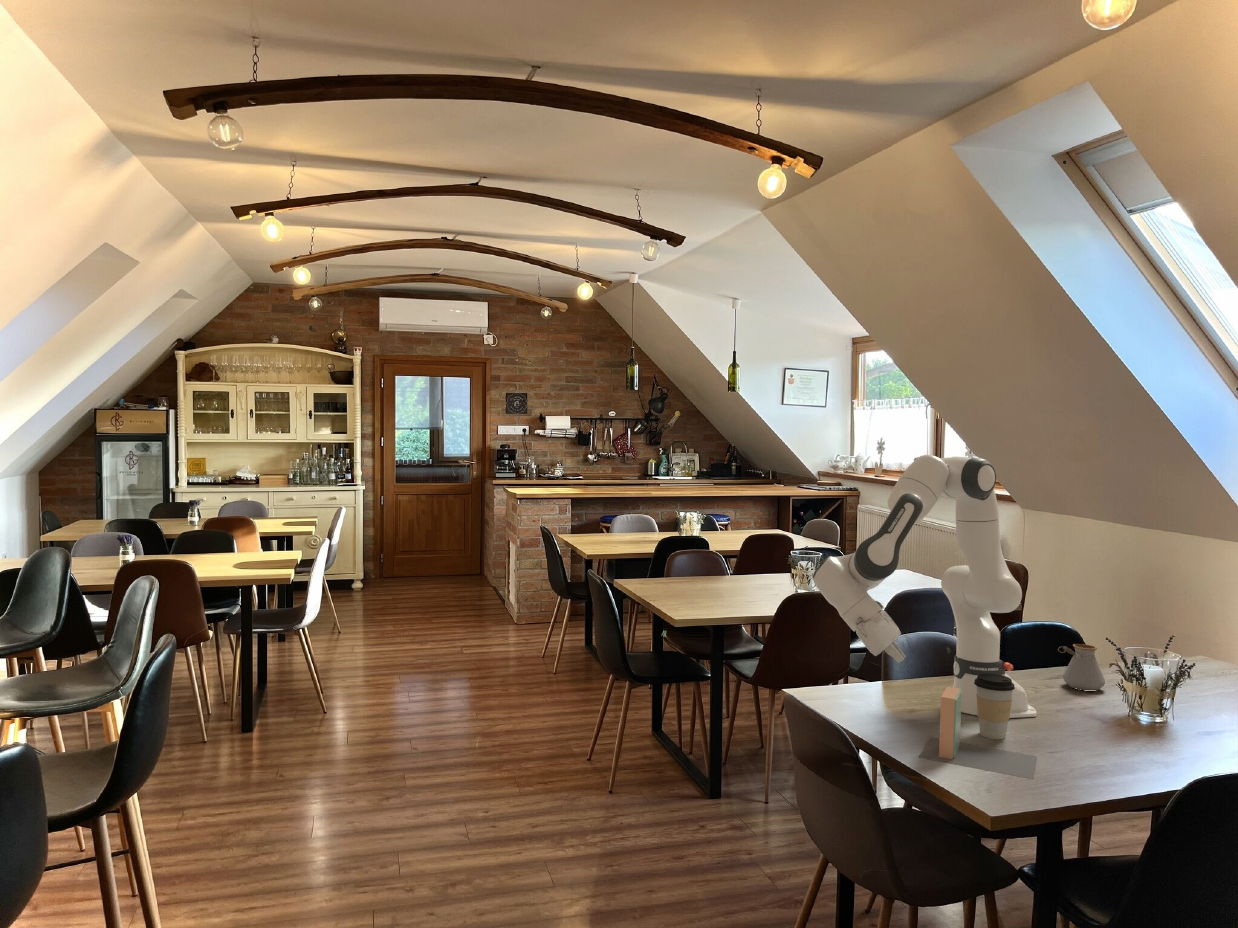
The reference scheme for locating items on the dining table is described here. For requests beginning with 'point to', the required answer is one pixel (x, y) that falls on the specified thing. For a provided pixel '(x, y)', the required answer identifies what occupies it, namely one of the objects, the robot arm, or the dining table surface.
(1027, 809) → the dining table surface
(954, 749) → the block
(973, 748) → the mat
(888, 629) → the robot arm
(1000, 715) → the coffee cup
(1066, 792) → the dining table surface
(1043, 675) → the dining table surface
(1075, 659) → the coffee pot
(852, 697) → the dining table surface
